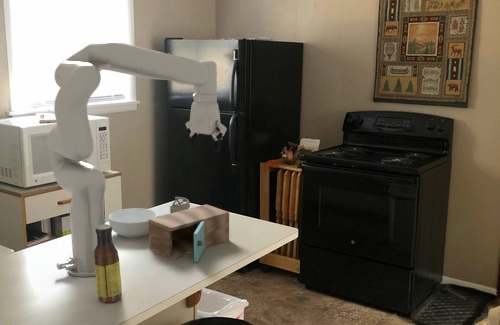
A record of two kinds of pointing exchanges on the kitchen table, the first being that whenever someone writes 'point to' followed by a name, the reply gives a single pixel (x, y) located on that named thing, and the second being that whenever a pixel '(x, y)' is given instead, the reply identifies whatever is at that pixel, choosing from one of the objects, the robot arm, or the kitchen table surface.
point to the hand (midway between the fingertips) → (205, 150)
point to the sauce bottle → (107, 266)
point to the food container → (179, 204)
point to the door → (199, 241)
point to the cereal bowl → (131, 221)
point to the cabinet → (187, 230)
